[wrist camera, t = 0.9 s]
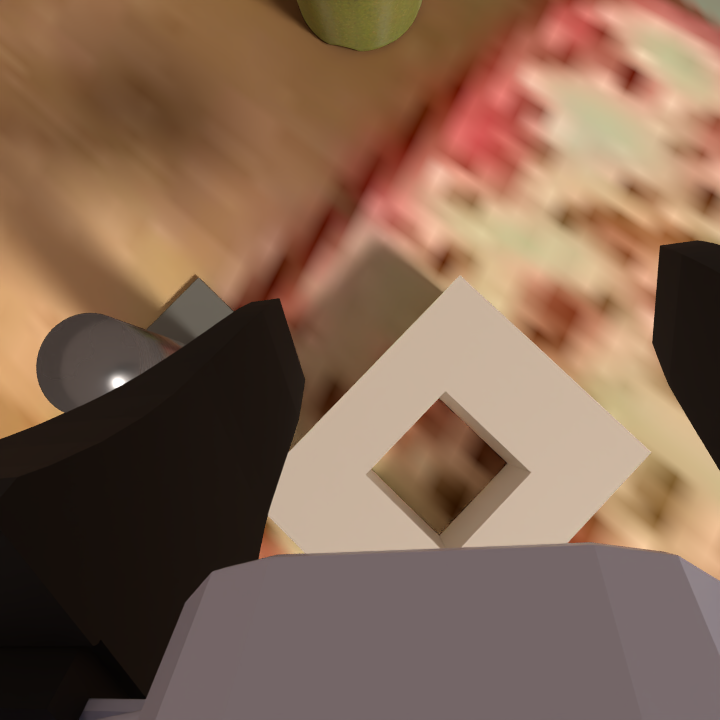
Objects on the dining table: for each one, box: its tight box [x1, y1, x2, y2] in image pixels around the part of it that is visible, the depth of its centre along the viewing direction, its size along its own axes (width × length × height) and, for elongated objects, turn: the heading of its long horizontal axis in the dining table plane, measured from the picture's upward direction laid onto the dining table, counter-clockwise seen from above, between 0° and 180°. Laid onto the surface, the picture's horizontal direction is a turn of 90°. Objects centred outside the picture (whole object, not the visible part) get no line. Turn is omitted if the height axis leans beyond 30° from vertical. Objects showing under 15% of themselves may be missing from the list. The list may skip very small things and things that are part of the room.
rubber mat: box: [147, 278, 234, 344], centre depth 26 cm, size 7×7×1 cm
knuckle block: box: [268, 276, 651, 554], centre depth 24 cm, size 12×10×4 cm
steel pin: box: [36, 313, 186, 413], centre depth 21 cm, size 3×3×10 cm
